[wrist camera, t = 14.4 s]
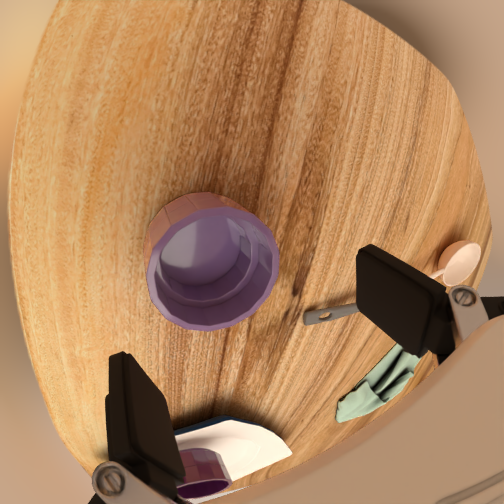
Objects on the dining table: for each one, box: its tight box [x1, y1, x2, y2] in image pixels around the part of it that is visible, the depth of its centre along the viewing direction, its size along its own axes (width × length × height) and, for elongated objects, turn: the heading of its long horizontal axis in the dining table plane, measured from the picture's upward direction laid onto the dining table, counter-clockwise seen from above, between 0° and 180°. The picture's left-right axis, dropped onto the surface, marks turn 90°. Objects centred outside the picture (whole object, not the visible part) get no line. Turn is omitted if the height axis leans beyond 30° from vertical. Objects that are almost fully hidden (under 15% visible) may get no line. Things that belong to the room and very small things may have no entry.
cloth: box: [335, 343, 422, 423], centre depth 37 cm, size 20×22×2 cm
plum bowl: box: [176, 448, 233, 499], centre depth 20 cm, size 7×7×4 cm
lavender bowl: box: [143, 192, 279, 331], centre depth 15 cm, size 7×7×4 cm
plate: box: [174, 415, 292, 500], centre depth 25 cm, size 20×20×3 cm
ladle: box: [303, 240, 481, 326], centre depth 26 cm, size 6×28×5 cm, turn 93°
